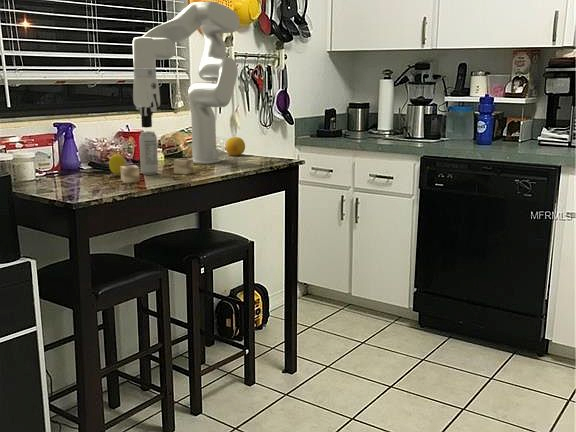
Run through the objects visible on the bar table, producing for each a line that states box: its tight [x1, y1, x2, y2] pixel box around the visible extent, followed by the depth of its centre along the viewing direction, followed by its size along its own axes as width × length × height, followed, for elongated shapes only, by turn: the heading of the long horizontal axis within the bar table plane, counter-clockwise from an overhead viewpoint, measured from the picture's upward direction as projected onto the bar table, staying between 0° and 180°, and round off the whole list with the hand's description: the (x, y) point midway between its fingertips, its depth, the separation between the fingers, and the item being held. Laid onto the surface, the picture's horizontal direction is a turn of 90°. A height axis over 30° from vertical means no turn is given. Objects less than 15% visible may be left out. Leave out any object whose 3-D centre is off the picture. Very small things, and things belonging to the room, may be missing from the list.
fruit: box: [224, 136, 246, 157], centre depth 270 cm, size 9×8×8 cm
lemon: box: [108, 152, 126, 176], centre depth 221 cm, size 6×6×8 cm
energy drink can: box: [138, 130, 159, 176], centre depth 224 cm, size 6×6×15 cm
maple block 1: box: [120, 164, 141, 184], centre depth 211 cm, size 5×5×5 cm
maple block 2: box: [173, 157, 194, 175], centre depth 228 cm, size 5×5×5 cm
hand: (146, 127), depth 221 cm, fingers closed
